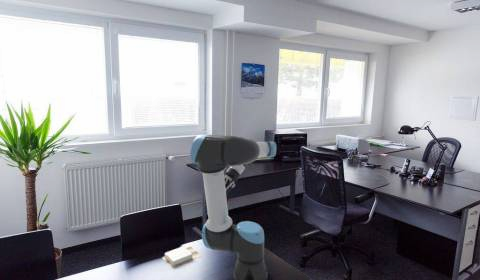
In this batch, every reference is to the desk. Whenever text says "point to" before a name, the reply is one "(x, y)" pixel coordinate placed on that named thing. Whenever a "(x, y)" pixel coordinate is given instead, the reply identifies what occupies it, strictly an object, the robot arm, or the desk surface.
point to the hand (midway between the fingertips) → (209, 208)
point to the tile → (178, 255)
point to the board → (194, 256)
